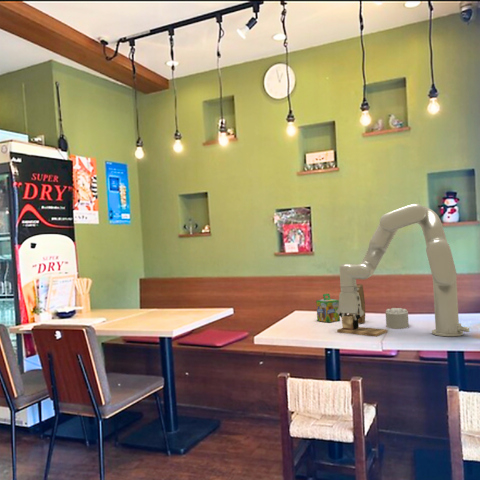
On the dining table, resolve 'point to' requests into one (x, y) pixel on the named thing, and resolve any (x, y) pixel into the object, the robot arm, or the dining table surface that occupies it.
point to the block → (361, 294)
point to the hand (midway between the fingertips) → (350, 327)
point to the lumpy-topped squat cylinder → (397, 318)
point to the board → (364, 331)
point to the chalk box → (327, 309)
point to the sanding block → (348, 322)
